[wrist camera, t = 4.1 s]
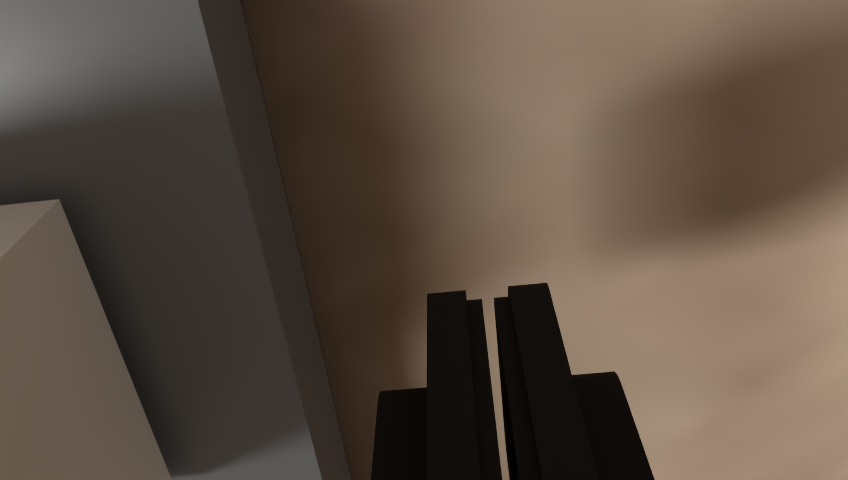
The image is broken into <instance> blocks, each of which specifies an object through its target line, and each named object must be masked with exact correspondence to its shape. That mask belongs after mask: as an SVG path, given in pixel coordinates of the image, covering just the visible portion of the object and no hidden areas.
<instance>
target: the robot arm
mask: <svg viewBox="0 0 848 480" xmlns="http://www.w3.org/2000/svg"><path fill="white" fill-rule="evenodd" d="M494 307H495V319H496V332H497V344H498V357H499V369H500V381H501V394H502V406H503V418H504V431H505V442H506V452H507V462H508V470H509V478H510V480H654V477H653V474H652V471H651V468H650V465H649V462H648V460H647V457H646V454H645V451H644V448H643V445H642V442H641V439H640V437H639V434H638V431H637V428H636V425H635V422H634V419H633V416H632V414H631V411H630V408H629V405H628V402H627V399H626V396H625V393H624V390H623V388H622V385H621V382H620V380H619V377H618V375H617V374H616V373H615V372H604V373H592V374H580V375H572V374H571V371H570V367H569V363H568V359H567V355H566V352H565V348H564V344H563V340H562V336H561V332H560V329H559V325H558V321H557V317H556V313H555V310H554V306H553V302H552V298H551V294H550V291H549V287H548V284H547V283H539V284H528V285H517V286H508V297H499V298H494ZM371 480H502V475H501V466H500V457H499V448H498V439H497V430H496V421H495V413H494V404H493V395H492V386H491V377H490V368H489V359H488V351H487V342H486V333H485V324H484V315H483V306H482V299H477V300H467V299H466V291H465V290H463V291H452V292H442V293H431V294H427V387H426V388H415V389H403V390H391V391H381V392H380V394H379V398H378V406H377V417H376V428H375V440H374V451H373V462H372V473H371Z"/></svg>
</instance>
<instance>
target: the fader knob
mask: <svg viewBox="0 0 848 480" xmlns="http://www.w3.org/2000/svg"><path fill="white" fill-rule="evenodd" d="M0 480H172V479H171V477H170V474H169V472H168V469H167V467H166V464H165V462H164V459H163V457H162V454H161V452H160V449H159V447H158V444H157V442H156V439H155V437H154V434H153V432H152V429H151V427H150V424H149V422H148V419H147V417H146V414H145V412H144V409H143V407H142V405H141V402H140V400H139V397H138V395H137V392H136V390H135V387H134V385H133V382H132V380H131V377H130V375H129V372H128V370H127V367H126V365H125V362H124V360H123V357H122V355H121V352H120V350H119V347H118V345H117V342H116V340H115V337H114V335H113V332H112V330H111V327H110V325H109V322H108V320H107V317H106V315H105V312H104V310H103V307H102V305H101V302H100V300H99V297H98V295H97V292H96V290H95V287H94V285H93V282H92V280H91V277H90V275H89V272H88V270H87V267H86V265H85V262H84V260H83V257H82V255H81V252H80V250H79V247H78V245H77V242H76V240H75V237H74V235H73V232H72V230H71V227H70V225H69V222H68V220H67V217H66V215H65V212H64V210H63V207H62V205H61V202H60V200H59V199H56V200H47V201H37V202H28V203H18V204H9V205H0Z"/></svg>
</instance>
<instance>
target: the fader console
mask: <svg viewBox="0 0 848 480" xmlns="http://www.w3.org/2000/svg"><path fill="white" fill-rule="evenodd" d="M56 199H59V200H60V202H61V205H62V207H63V210H64V212H65V215H66V217H67V220H68V222H69V225H70V227H71V230H72V232H73V235H74V237H75V240H76V242H77V245H78V247H79V250H80V252H81V255H82V257H83V260H84V262H85V265H86V267H87V270H88V272H89V275H90V277H91V280H92V282H93V285H94V287H95V290H96V292H97V295H98V297H99V300H100V302H101V305H102V307H103V310H104V312H105V315H106V317H107V320H108V322H109V325H110V327H111V330H112V332H113V335H114V337H115V340H116V342H117V345H118V347H119V350H120V352H121V355H122V357H123V360H124V362H125V365H126V367H127V370H128V372H129V375H130V377H131V380H132V382H133V385H134V387H135V390H136V392H137V395H138V397H139V400H140V402H141V405H142V407H143V409H144V412H145V414H146V417H147V419H148V422H149V424H150V427H151V429H152V432H153V434H154V437H155V439H156V442H157V444H158V447H159V449H160V452H161V454H162V457H163V459H164V462H165V464H166V467H167V469H168V472H169V474H170V477H171V479H172V480H352V479H351V475H350V471H349V466H348V462H347V458H346V453H345V449H344V445H343V440H342V436H341V432H340V427H339V423H338V419H337V414H336V410H335V406H334V402H333V397H332V393H331V389H330V384H329V380H328V376H327V371H326V367H325V363H324V358H323V354H322V350H321V345H320V341H319V337H318V333H317V328H316V324H315V320H314V315H313V311H312V307H311V302H310V298H309V294H308V289H307V285H306V281H305V276H304V272H303V268H302V263H301V259H300V255H299V251H298V246H297V242H296V238H295V233H294V229H293V225H292V220H291V216H290V212H289V207H288V203H287V199H286V194H285V190H284V186H283V182H282V177H281V173H280V169H279V164H278V160H277V156H276V151H275V147H274V143H273V138H272V134H271V130H270V125H269V121H268V117H267V112H266V108H265V104H264V100H263V95H262V91H261V87H260V82H259V78H258V74H257V69H256V65H255V61H254V56H253V52H252V48H251V43H250V39H249V35H248V31H247V26H246V22H245V18H244V13H243V9H242V5H241V0H0V205H9V204H18V203H28V202H37V201H47V200H56Z"/></svg>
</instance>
